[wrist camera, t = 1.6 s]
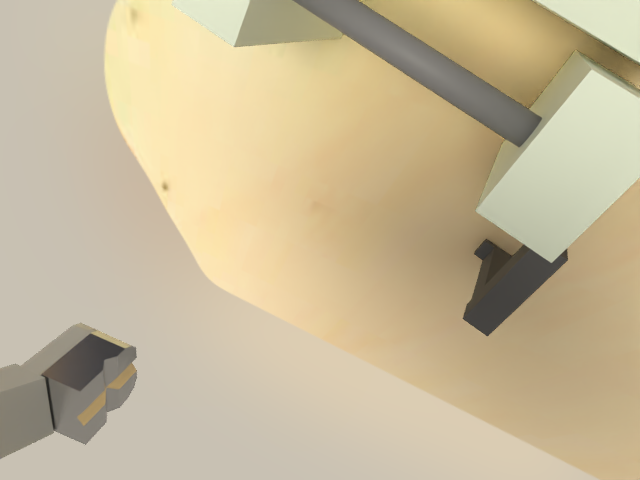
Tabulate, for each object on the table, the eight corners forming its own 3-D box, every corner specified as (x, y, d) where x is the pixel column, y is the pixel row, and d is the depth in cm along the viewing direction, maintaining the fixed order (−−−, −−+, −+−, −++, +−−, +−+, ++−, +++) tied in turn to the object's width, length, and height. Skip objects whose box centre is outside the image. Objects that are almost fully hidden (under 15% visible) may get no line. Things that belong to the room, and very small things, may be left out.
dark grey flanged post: (571, 208, 32) (577, 266, 25) (507, 274, 36) (495, 342, 28) (534, 184, 33) (529, 234, 25) (475, 251, 36) (454, 312, 29)
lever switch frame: (675, 37, 26) (770, 50, 15) (551, 175, 32) (551, 263, 20) (361, -147, 29) (238, -256, 18) (297, 10, 35) (171, 4, 23)
